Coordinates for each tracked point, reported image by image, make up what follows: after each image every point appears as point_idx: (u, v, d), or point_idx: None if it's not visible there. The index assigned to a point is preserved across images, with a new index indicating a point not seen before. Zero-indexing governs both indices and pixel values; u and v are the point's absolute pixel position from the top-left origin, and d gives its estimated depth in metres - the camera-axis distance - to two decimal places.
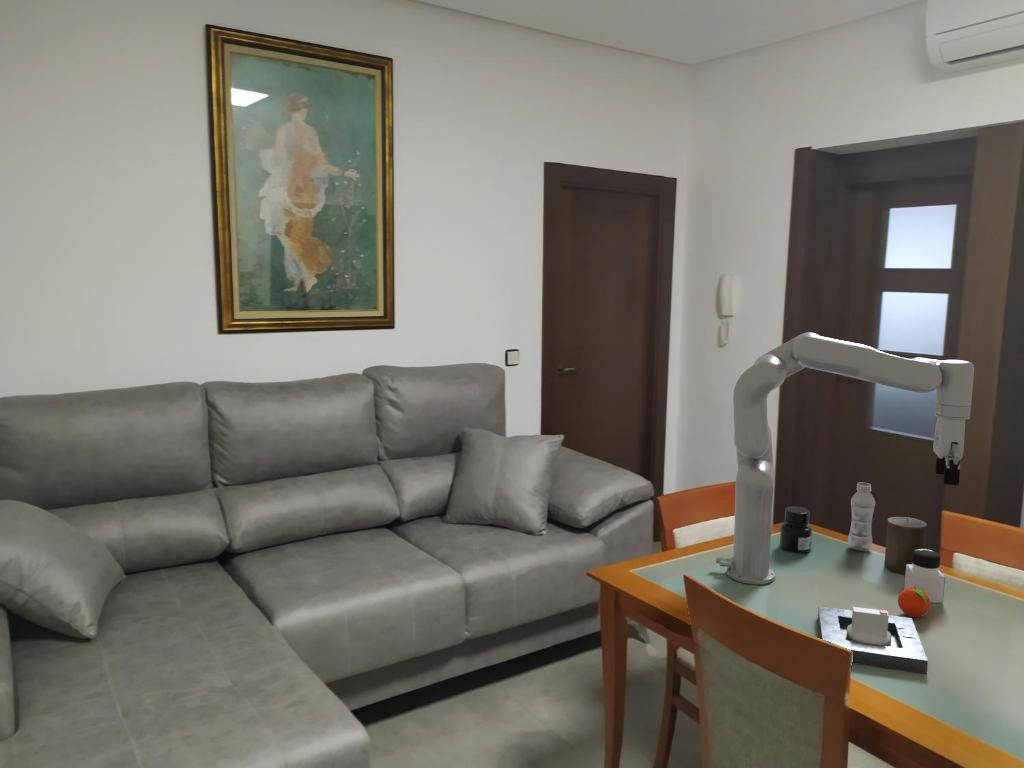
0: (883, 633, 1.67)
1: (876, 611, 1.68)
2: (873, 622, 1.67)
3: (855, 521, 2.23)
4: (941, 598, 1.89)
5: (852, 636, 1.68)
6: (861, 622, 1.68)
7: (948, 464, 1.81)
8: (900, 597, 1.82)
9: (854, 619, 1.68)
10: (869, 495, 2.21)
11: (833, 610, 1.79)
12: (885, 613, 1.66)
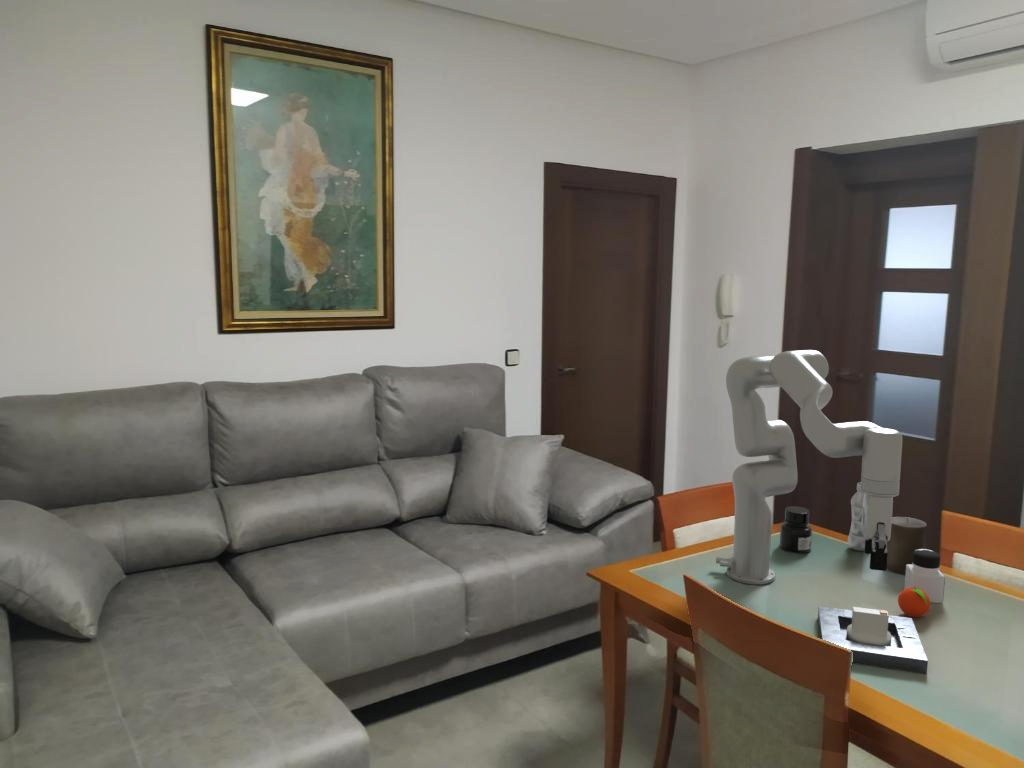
0: (883, 633, 1.67)
1: (876, 611, 1.68)
2: (873, 622, 1.67)
3: (855, 521, 2.23)
4: (941, 598, 1.89)
5: (852, 636, 1.68)
6: (861, 622, 1.68)
7: (874, 547, 1.60)
8: (900, 597, 1.82)
9: (854, 619, 1.68)
10: None
11: (833, 610, 1.79)
12: (885, 613, 1.66)
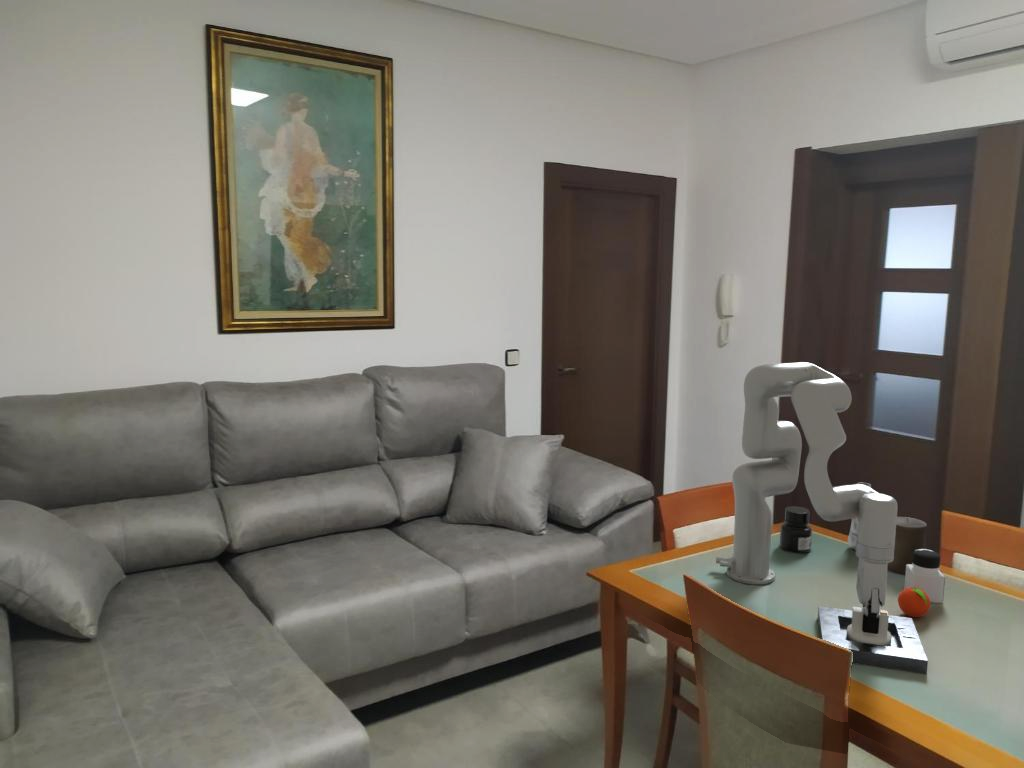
0: (883, 633, 1.67)
1: None
2: None
3: (855, 521, 2.23)
4: (941, 598, 1.89)
5: (852, 636, 1.68)
6: (861, 622, 1.68)
7: (866, 613, 1.66)
8: (900, 597, 1.82)
9: (854, 619, 1.68)
10: None
11: (833, 610, 1.79)
12: (885, 613, 1.66)
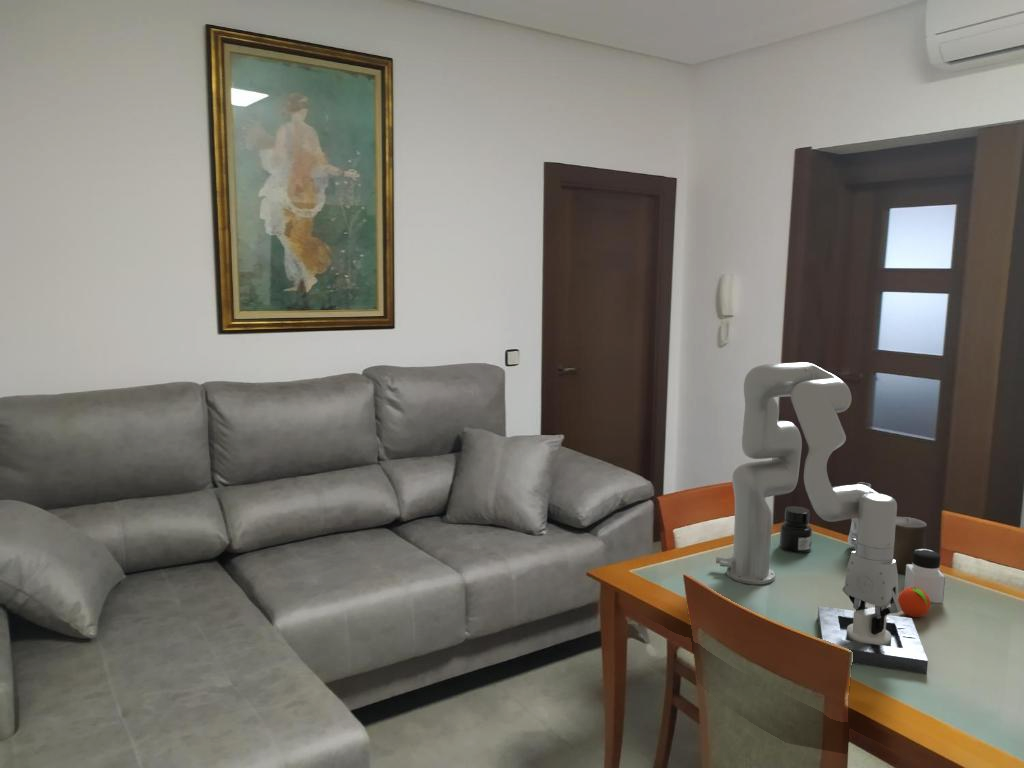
0: (883, 629, 1.68)
1: (874, 609, 1.69)
2: None
3: (855, 521, 2.23)
4: (941, 598, 1.89)
5: (865, 641, 1.65)
6: (867, 625, 1.67)
7: (880, 615, 1.65)
8: (900, 597, 1.82)
9: (862, 624, 1.66)
10: None
11: (833, 610, 1.79)
12: None
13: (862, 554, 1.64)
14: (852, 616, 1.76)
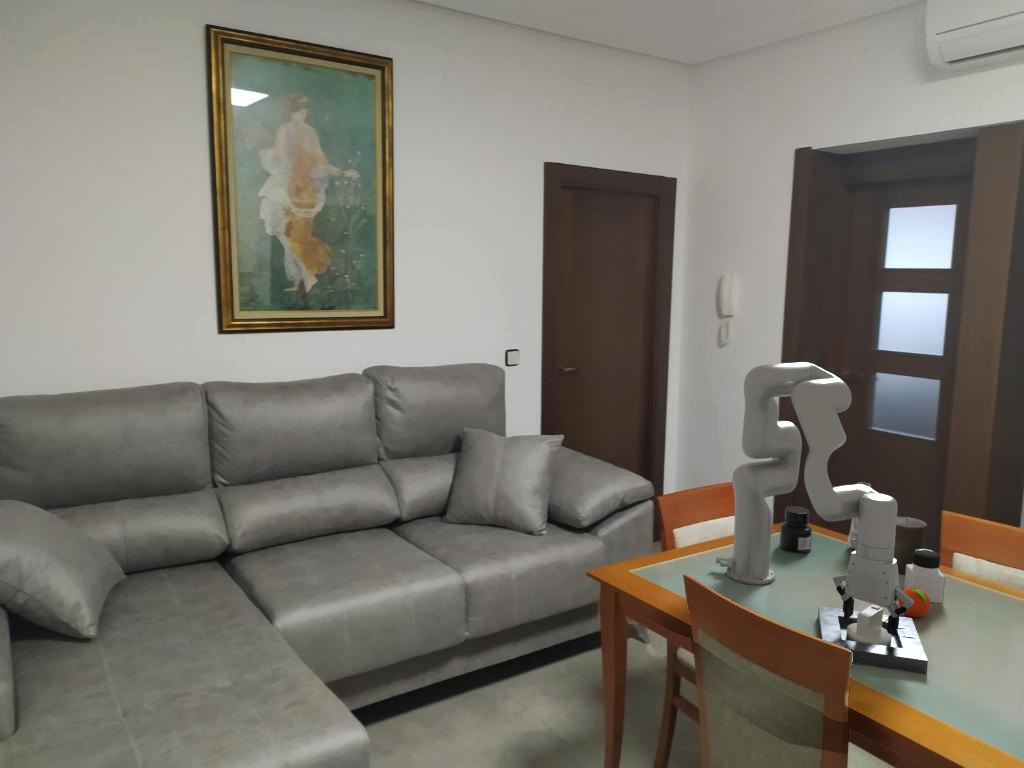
0: (880, 627, 1.69)
1: (872, 609, 1.69)
2: (876, 620, 1.68)
3: (855, 521, 2.23)
4: (941, 598, 1.89)
5: (873, 643, 1.65)
6: (871, 625, 1.66)
7: (896, 612, 1.63)
8: None
9: (868, 625, 1.65)
10: None
11: (833, 610, 1.79)
12: (879, 607, 1.69)
13: (865, 555, 1.64)
14: (852, 616, 1.76)
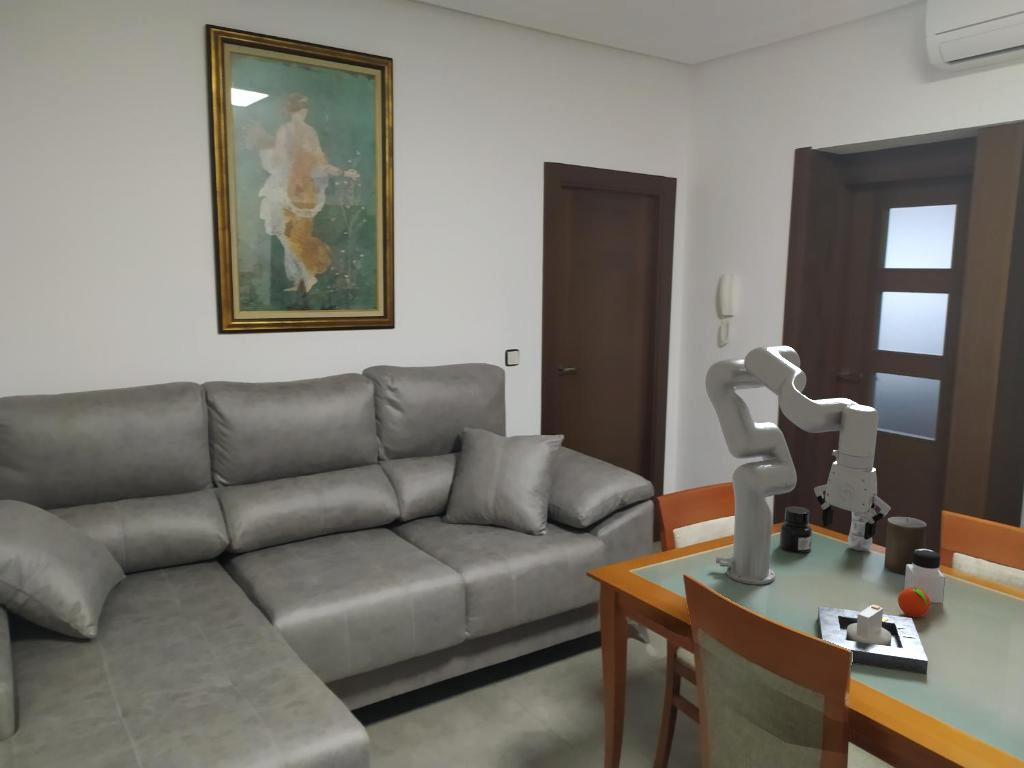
0: (880, 627, 1.69)
1: (872, 609, 1.69)
2: (876, 620, 1.68)
3: (855, 521, 2.23)
4: (941, 598, 1.89)
5: (873, 643, 1.65)
6: (871, 625, 1.66)
7: (873, 518, 1.69)
8: (900, 597, 1.82)
9: (868, 625, 1.65)
10: None
11: (833, 610, 1.79)
12: (879, 607, 1.69)
13: (845, 463, 1.69)
14: (852, 616, 1.76)
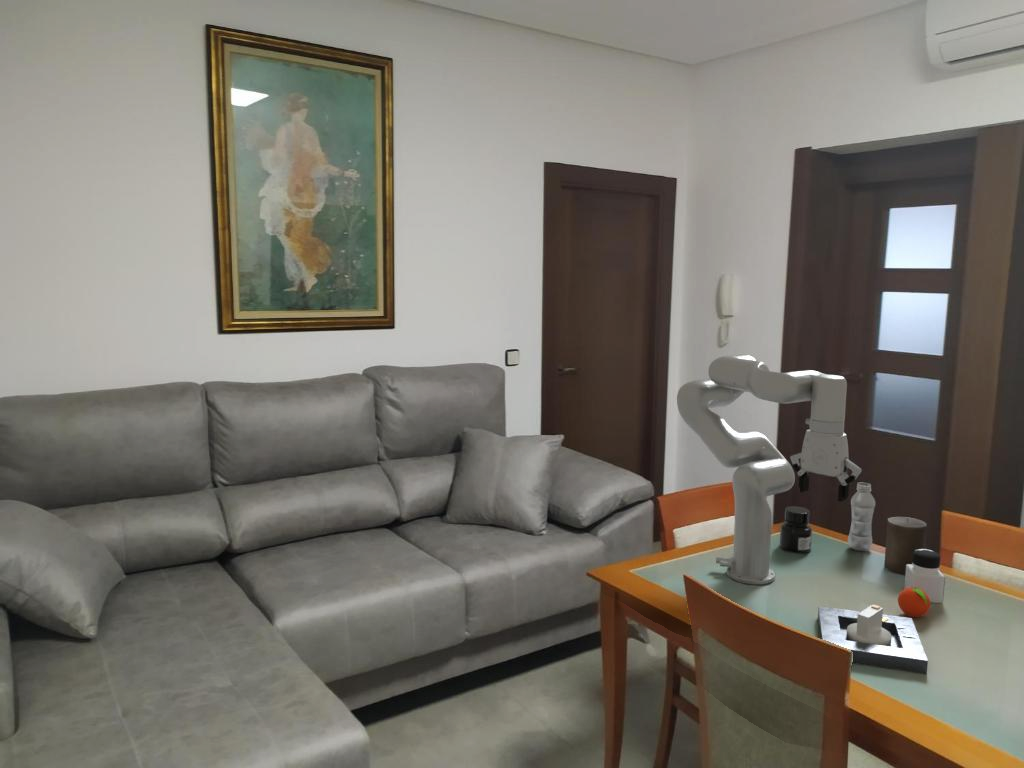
0: (880, 627, 1.69)
1: (872, 609, 1.69)
2: (876, 620, 1.68)
3: (855, 521, 2.23)
4: (941, 598, 1.89)
5: (873, 643, 1.65)
6: (871, 625, 1.66)
7: (845, 481, 1.78)
8: (900, 597, 1.82)
9: (868, 625, 1.65)
10: (869, 495, 2.21)
11: (833, 610, 1.79)
12: (879, 607, 1.69)
13: (817, 429, 1.79)
14: (852, 616, 1.76)
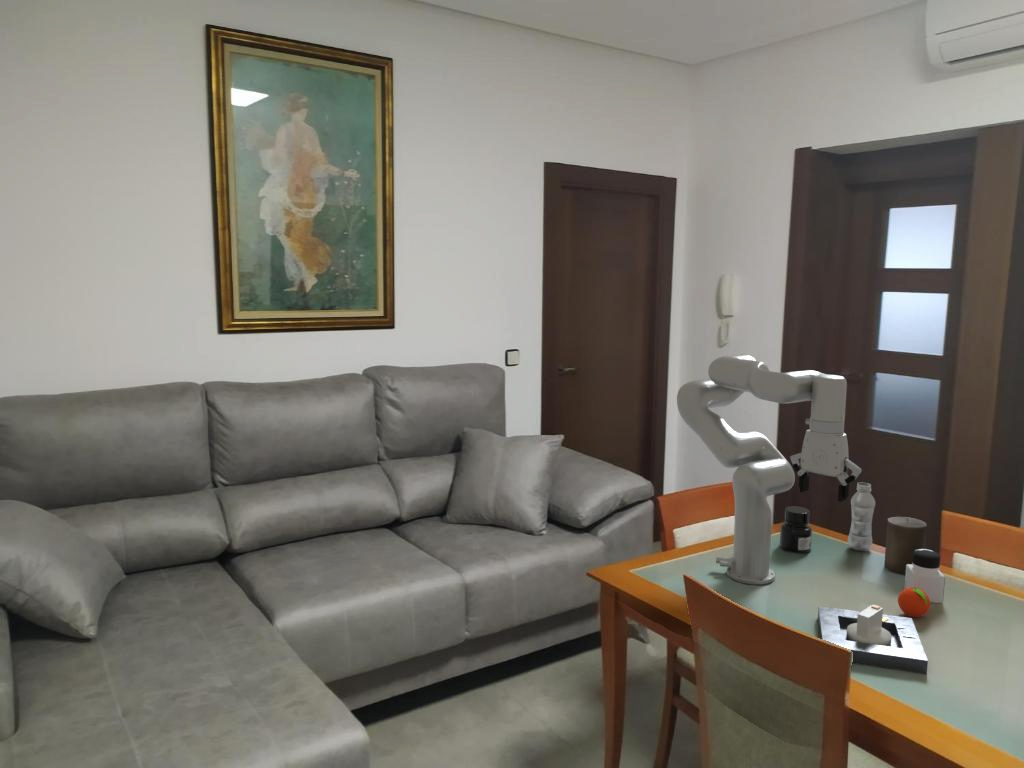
0: (880, 627, 1.69)
1: (872, 609, 1.69)
2: (876, 620, 1.68)
3: (855, 521, 2.23)
4: (941, 598, 1.89)
5: (873, 643, 1.65)
6: (871, 625, 1.66)
7: (845, 481, 1.78)
8: (900, 597, 1.82)
9: (868, 625, 1.65)
10: (869, 495, 2.21)
11: (833, 610, 1.79)
12: (879, 607, 1.69)
13: (817, 429, 1.79)
14: (852, 616, 1.76)
